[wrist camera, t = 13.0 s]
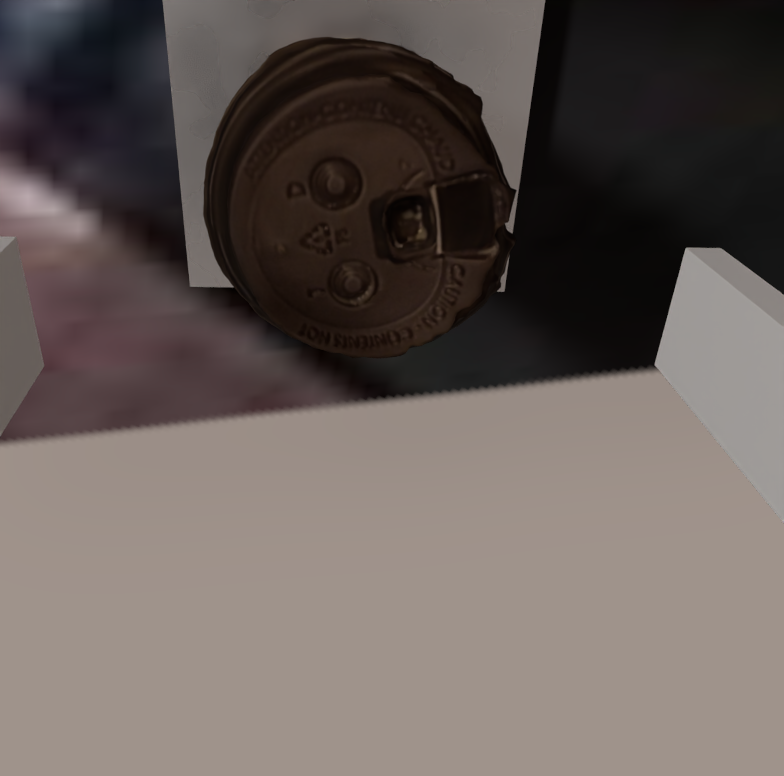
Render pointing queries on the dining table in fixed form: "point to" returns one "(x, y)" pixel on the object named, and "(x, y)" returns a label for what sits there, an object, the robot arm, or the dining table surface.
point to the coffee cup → (357, 197)
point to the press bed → (341, 20)
